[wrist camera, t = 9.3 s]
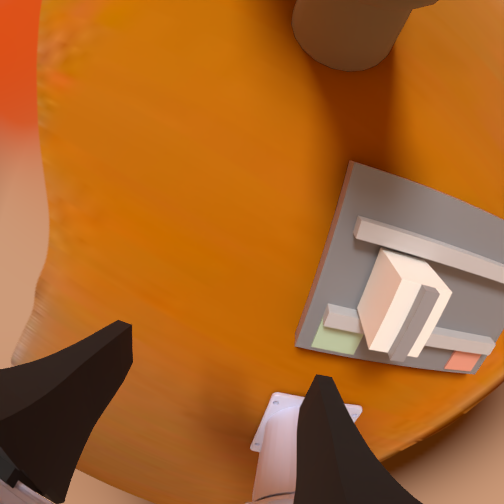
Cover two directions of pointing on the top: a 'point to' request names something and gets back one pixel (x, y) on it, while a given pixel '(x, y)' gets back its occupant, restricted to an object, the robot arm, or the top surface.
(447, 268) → the switch panel
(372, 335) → the block
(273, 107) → the top surface
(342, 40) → the pepper mill
